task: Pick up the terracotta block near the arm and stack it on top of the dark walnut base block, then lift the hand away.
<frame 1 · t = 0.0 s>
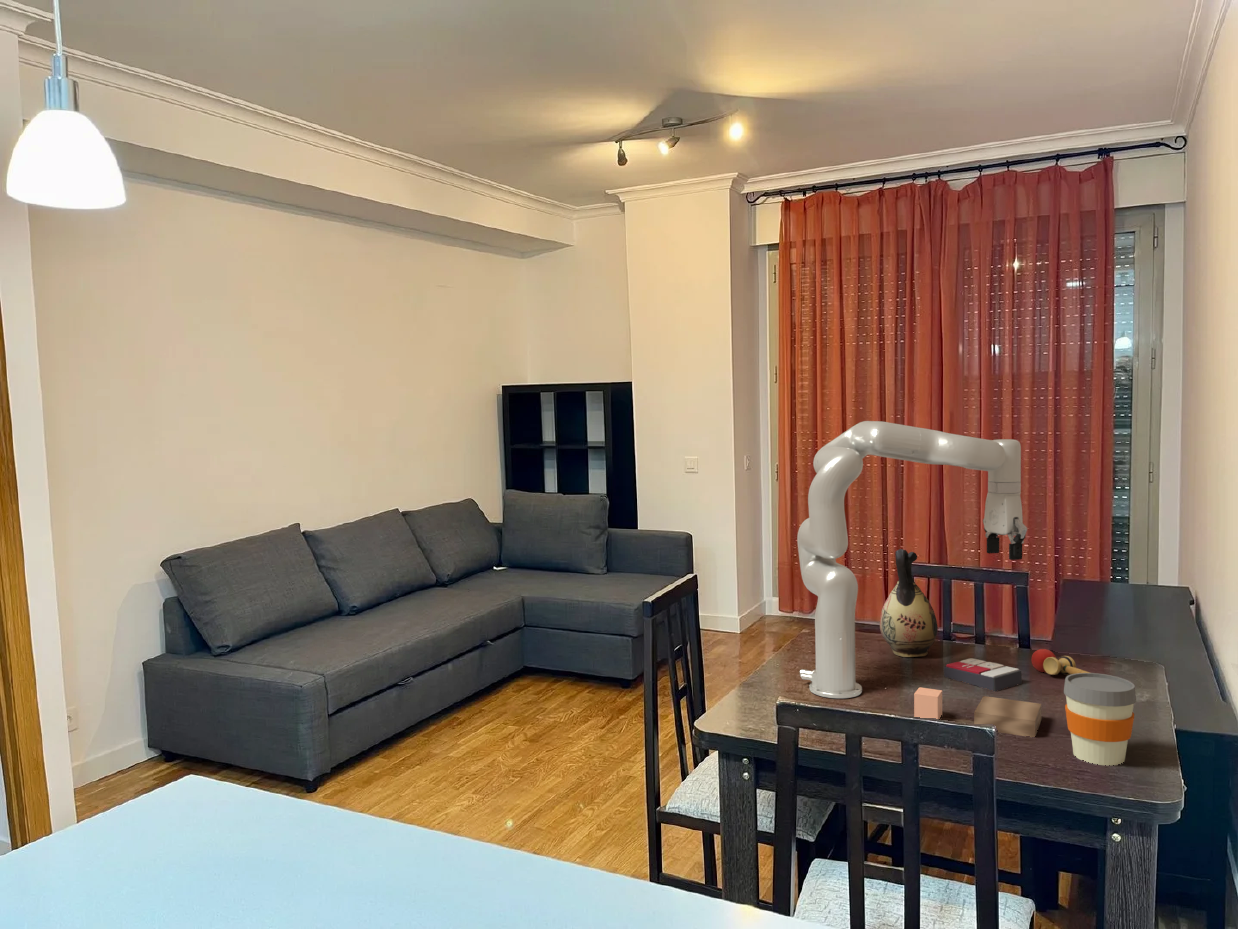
hand: (1004, 556, 224), 31 cm above the table, tool pointing down, fingers open, 9 cm apart
base: (1008, 726, 195), on the table
block: (928, 718, 200), on the table
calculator: (982, 682, 225), on the table
ceramic jug: (907, 655, 250), on the table
reusable coffee cup: (1098, 757, 176), on the table
kendama: (1065, 679, 225), on the table
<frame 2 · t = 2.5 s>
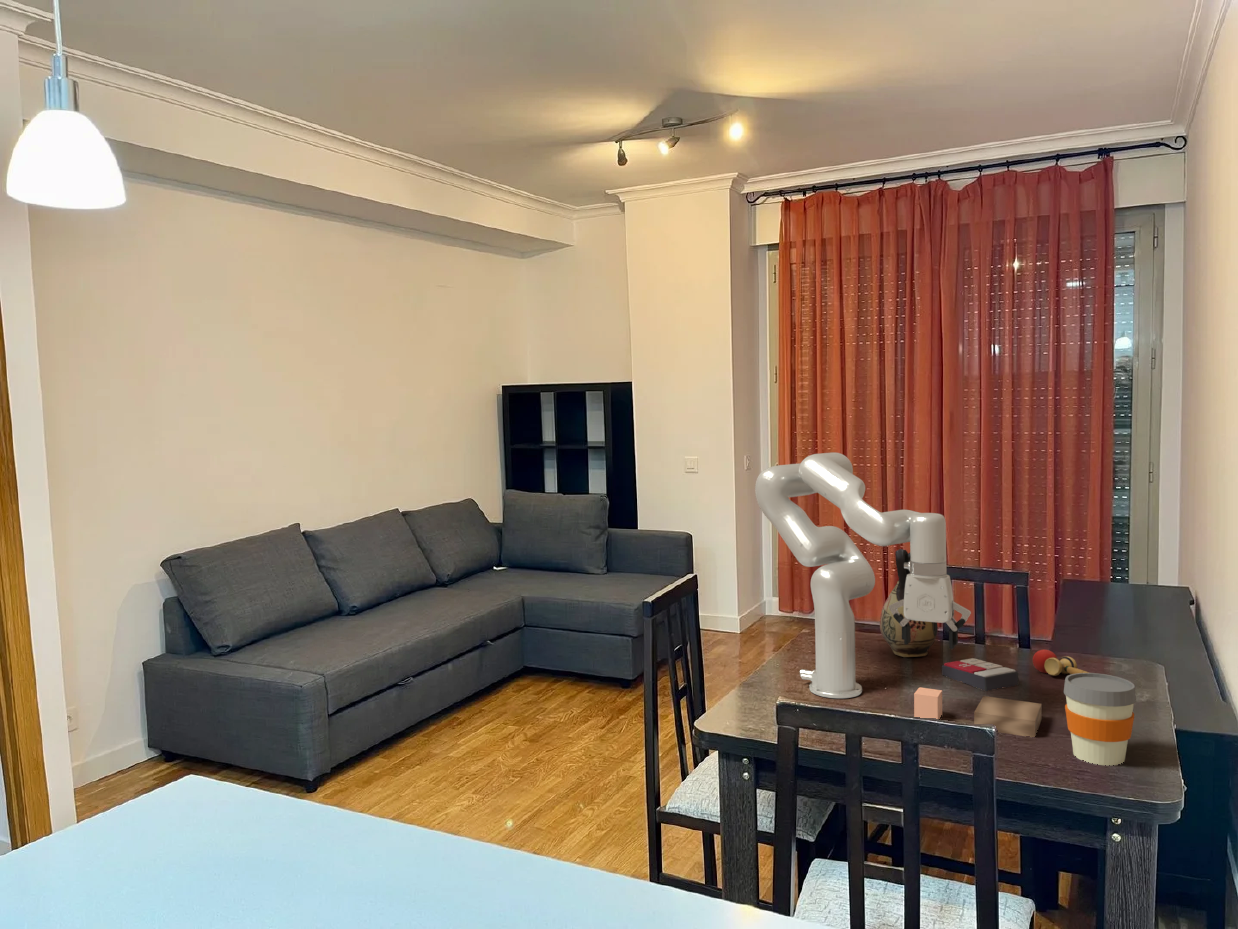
hand: (929, 645, 198), 17 cm above the table, tool pointing down, fingers open, 9 cm apart
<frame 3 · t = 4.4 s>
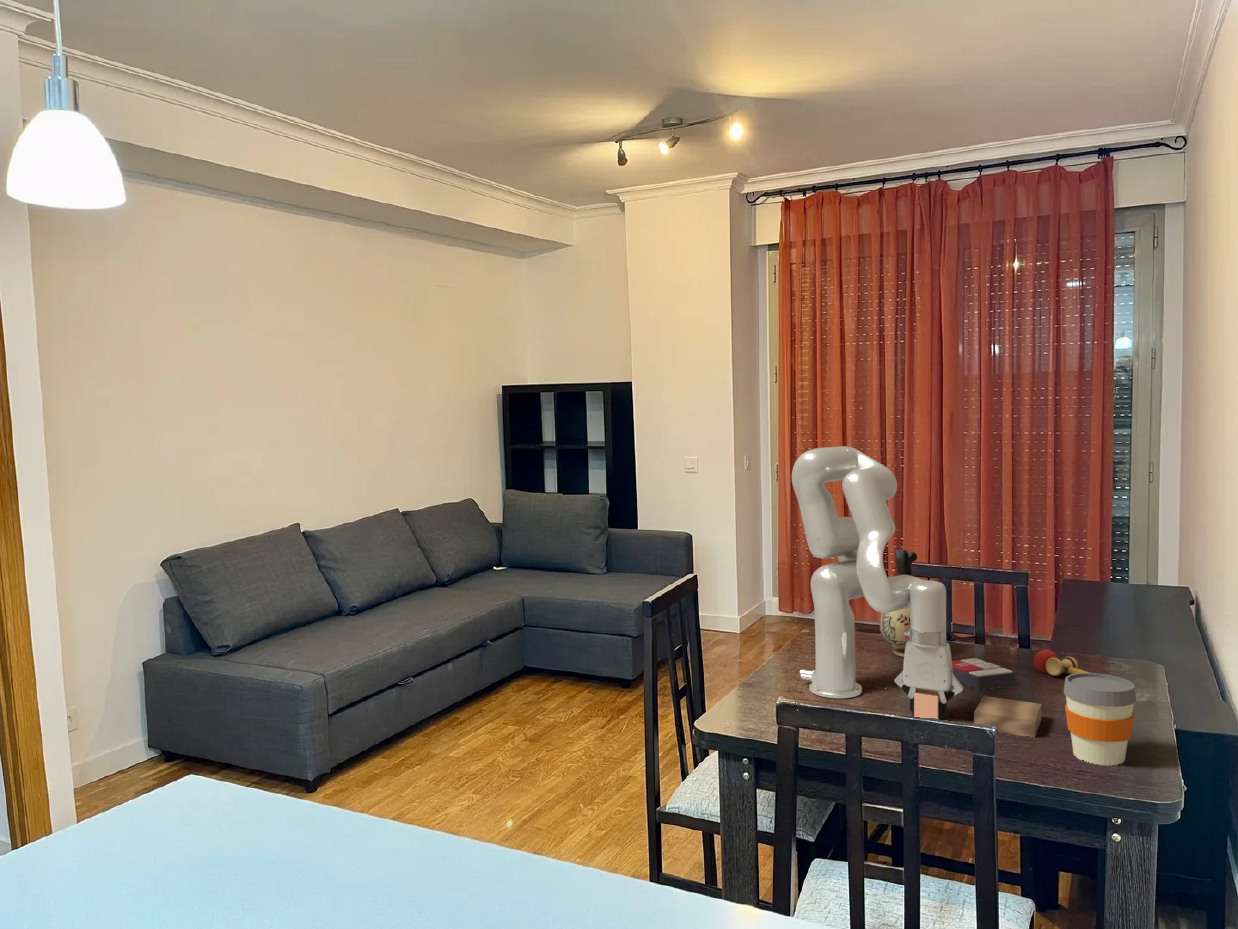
hand: (928, 716, 199), 0 cm above the table, tool pointing down, fingers closed on block, 5 cm apart
block: (928, 718, 199), on the table, touching gripper
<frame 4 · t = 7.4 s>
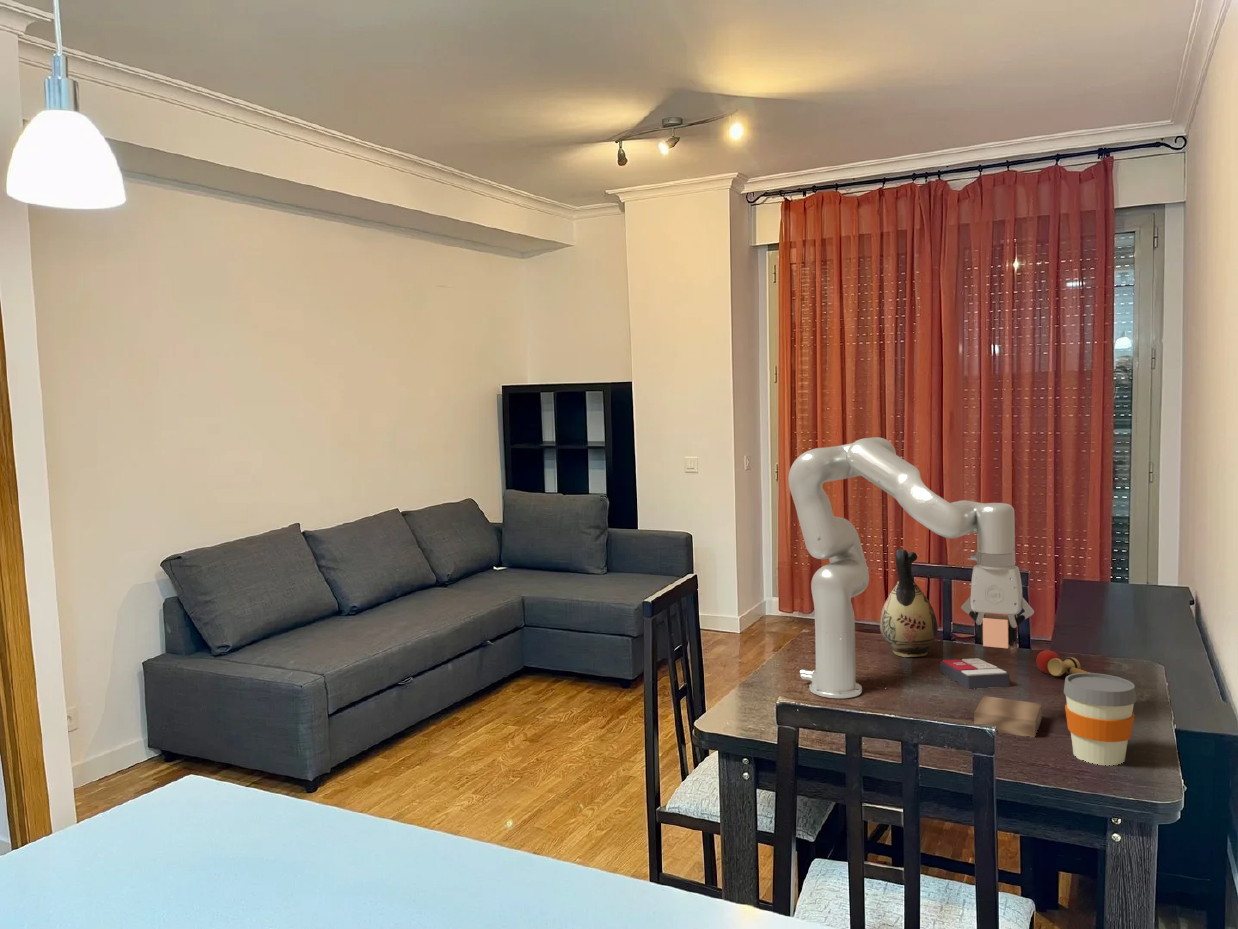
hand: (997, 642, 194), 18 cm above the table, tool pointing down, fingers closed on block, 5 cm apart
block: (997, 644, 194), point 18 cm above the table, touching gripper
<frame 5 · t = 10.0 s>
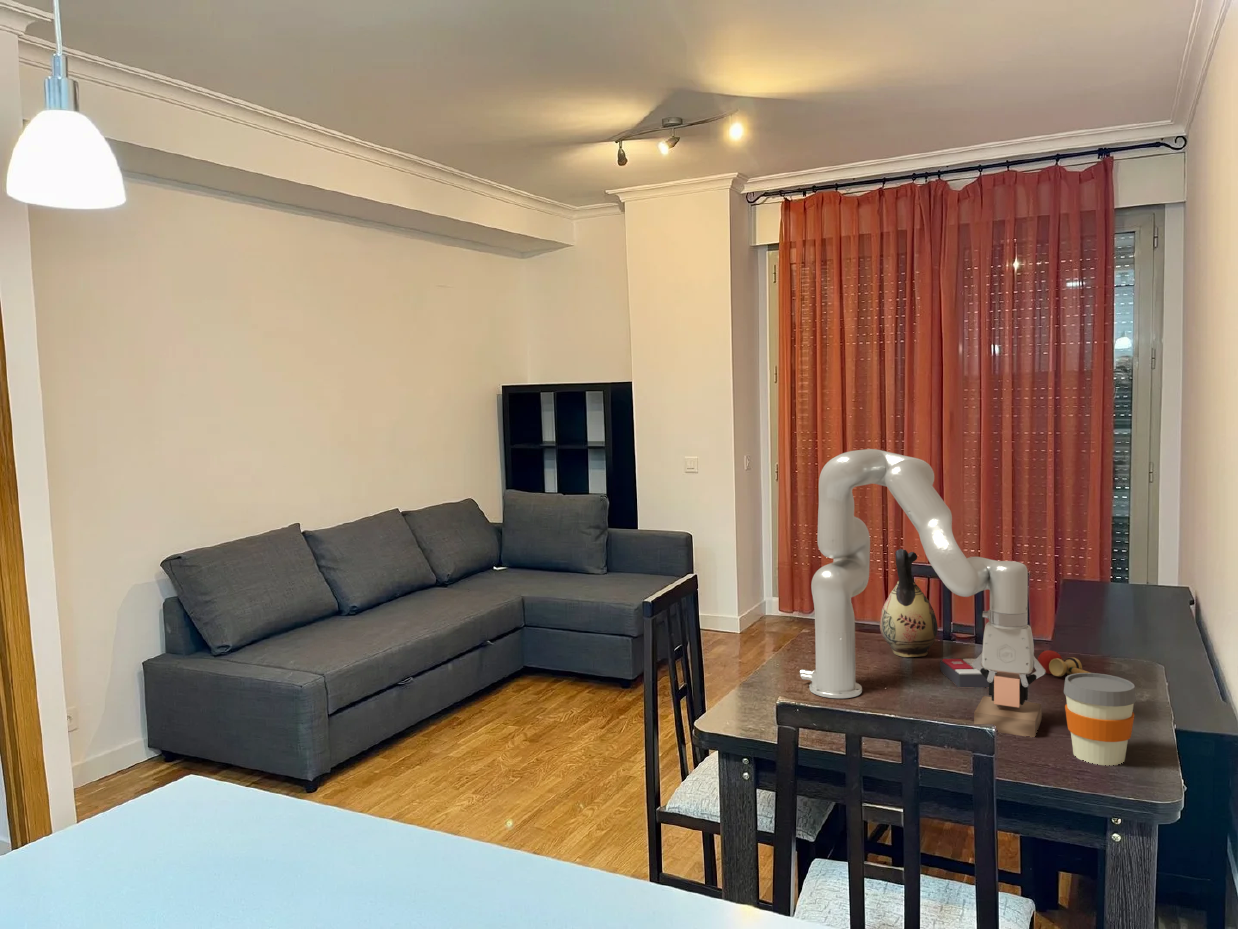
hand: (1008, 700, 194), 5 cm above the table, tool pointing down, fingers closed on block, 5 cm apart
block: (1008, 702, 194), point 5 cm above the table, touching gripper
when the fingers open (5 cm above the table, at t = 10.4 s): block drops 1 cm, point 3 cm above the table.
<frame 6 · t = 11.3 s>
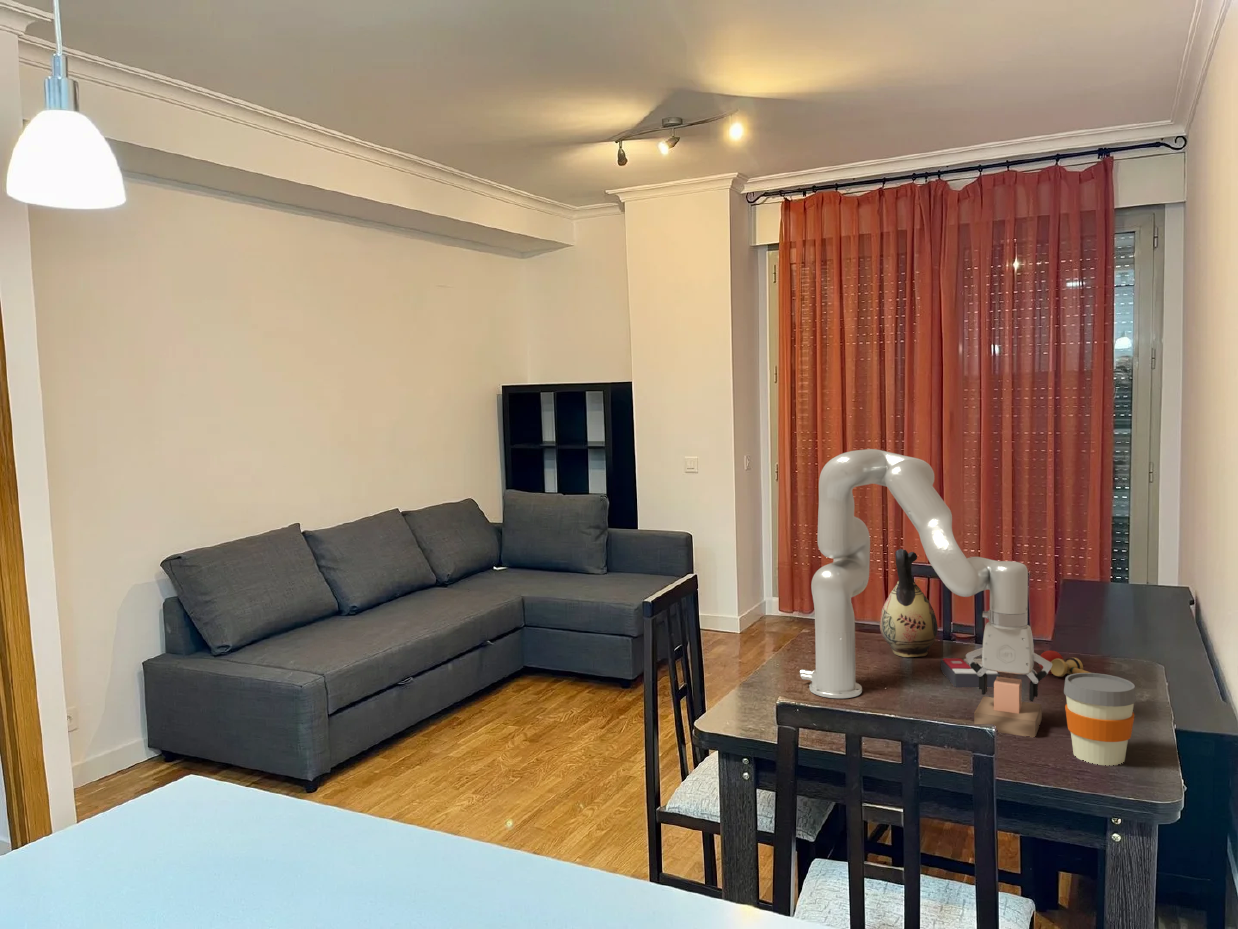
hand: (1007, 696, 194), 6 cm above the table, tool pointing down, fingers open, 9 cm apart
block: (1007, 708, 194), point 3 cm above the table
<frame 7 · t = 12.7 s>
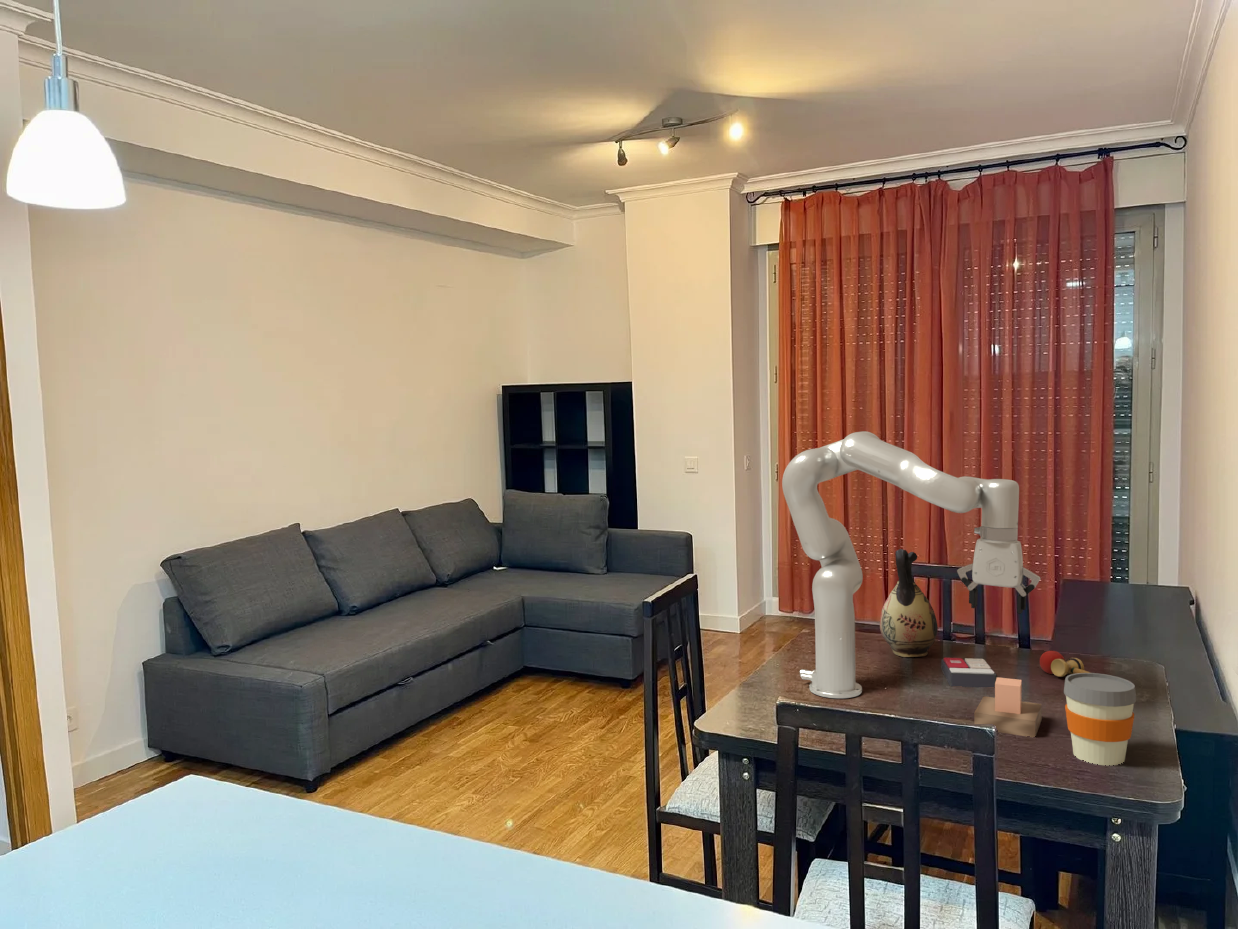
hand: (996, 609, 201), 23 cm above the table, tool pointing down, fingers open, 9 cm apart
base: (1008, 726, 195), on the table, touching block
block: (1008, 709, 194), point 3 cm above the table, touching base
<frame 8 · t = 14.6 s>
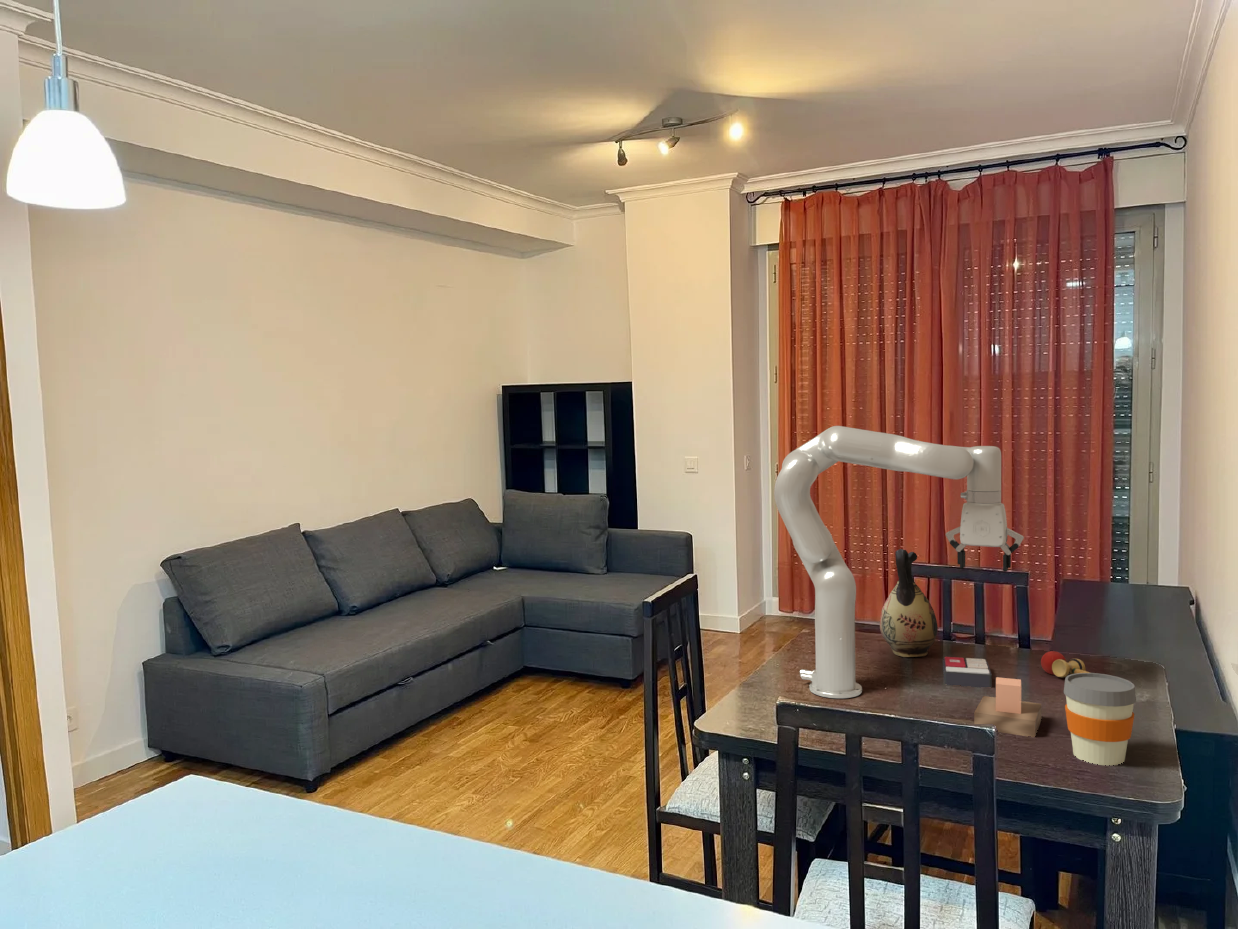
hand: (983, 569, 213), 30 cm above the table, tool pointing down, fingers open, 9 cm apart
at the end: block inside the target area on the base (0.5 cm from its centre), point 4.0 cm above the base's base; block tilted 1°; the gripper is holding nothing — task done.
